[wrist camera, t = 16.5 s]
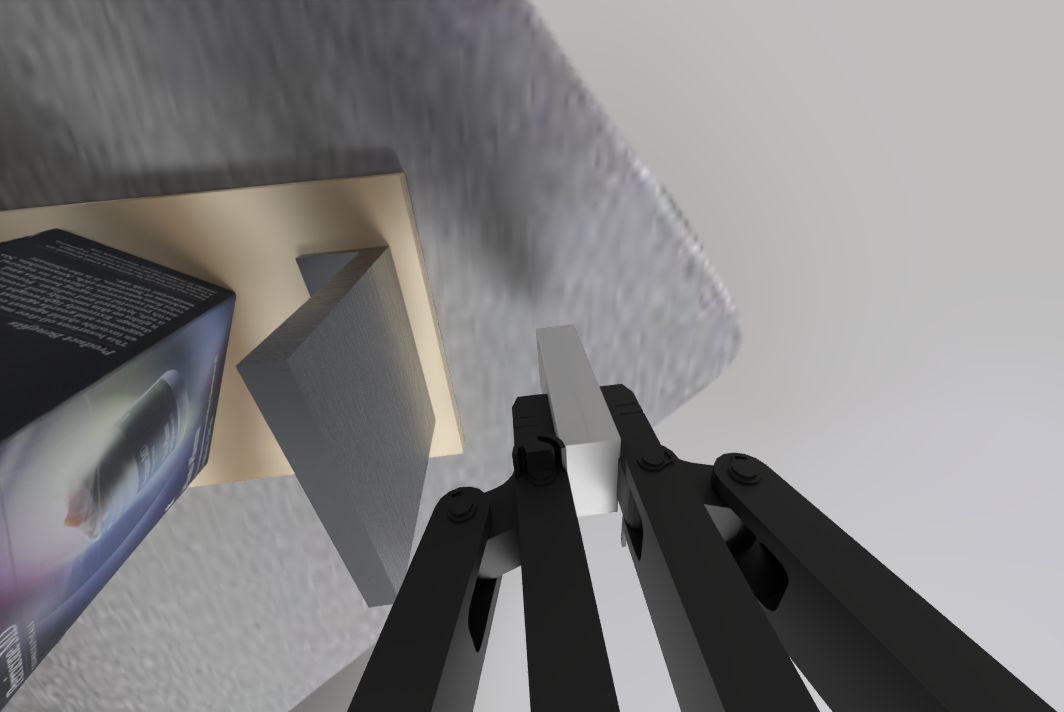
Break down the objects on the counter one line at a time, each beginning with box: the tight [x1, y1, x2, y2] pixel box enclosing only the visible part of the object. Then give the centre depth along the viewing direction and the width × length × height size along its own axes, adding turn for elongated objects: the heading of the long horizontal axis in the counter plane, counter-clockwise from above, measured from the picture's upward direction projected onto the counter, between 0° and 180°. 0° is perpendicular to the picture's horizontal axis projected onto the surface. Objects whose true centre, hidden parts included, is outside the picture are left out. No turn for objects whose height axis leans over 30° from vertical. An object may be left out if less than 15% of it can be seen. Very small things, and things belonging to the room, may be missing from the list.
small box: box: [0, 228, 236, 712], centre depth 13 cm, size 11×6×10 cm, turn 153°
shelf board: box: [0, 172, 464, 487], centre depth 18 cm, size 34×14×1 cm, turn 95°
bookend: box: [235, 246, 436, 607], centre depth 14 cm, size 4×9×9 cm, turn 5°
